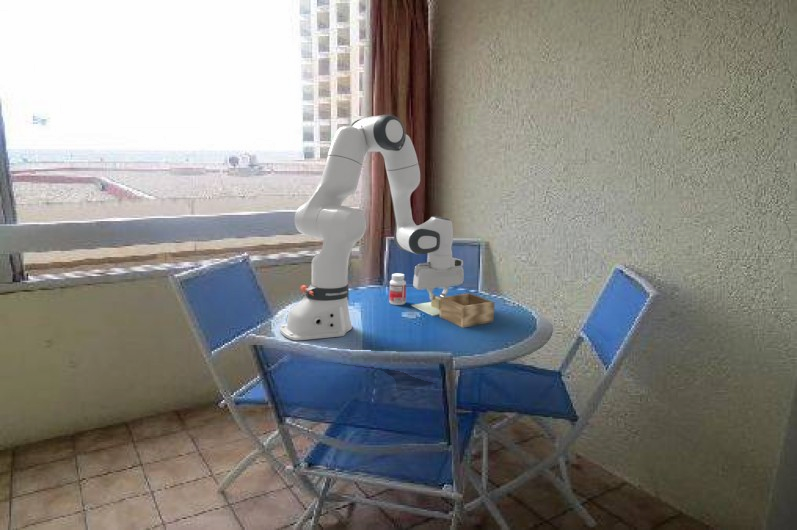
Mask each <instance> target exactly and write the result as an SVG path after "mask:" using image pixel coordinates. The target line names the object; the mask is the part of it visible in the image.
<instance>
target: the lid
mask: <svg viewBox="0 0 797 530" xmlns="http://www.w3.org/2000/svg"><path fill="white" fill-rule="evenodd" d="M410 306H411V307H412V308H415V309H416V310H419V311H421V312H423V313H424V314H426V315H427V314H428V315H429V316H432V317H434V316H440V296H437V295H436V297H435V300H430V301H429V302H421V303H415V304H411V305H410Z"/></svg>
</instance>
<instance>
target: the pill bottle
mask: <svg viewBox="0 0 797 530" xmlns="http://www.w3.org/2000/svg"><path fill="white" fill-rule="evenodd" d="M406 294H407V281H406V280H405V274H404V273H400V272H399V273H398V272H396V273H392V274H391V279H390V281H389V295H388V296H389V297H388V299H389V300H388V301H389V303H390V305H393V306H402V305H405V304H406V303H407V302H406V300H407V295H406Z"/></svg>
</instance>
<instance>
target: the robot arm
mask: <svg viewBox="0 0 797 530" xmlns="http://www.w3.org/2000/svg"><path fill="white" fill-rule="evenodd" d="M333 136H334V137H333V139H332V141H331V144H330V146H329V150H328V152H327V157H326V160H325V165H324V167H323V170H322V171H323V172H322V175H321V177H320V181H319V183H318V185H317V187H316V188H315V190H314V192H313V194H312V195H311V197H310V198H308V200H307V201H306V202H305V203H304V204H301V206H299V208H298V209H297V210H296V211H295V214H294V219H293V220H294V221H293V222H294V226H295V228H296V230H297V231H298V233H300V234H302V235H303V236H307V237H308V238H311V239H315V240H316V239H317V240H322V247H321V250H320V252H319V253H318V254H316V255H315V256H314V257H313V258H312V260H311V284H309V286H307V285H305V284H303V285H301V286H300V287H299V288H300V291H301V292H303V293H305V297H304V298H303V299H301V300H300V301H299V302H298V303H296V304H295V305H294V306H293V307H291V309H290V310H289V311H288V313H287V319H286V323H283V324H280V326H279V332H280V333H281V334H282V336H283V337H285V338H287V339H289V340H292V341H305V340H317V339H325V338H326V339H327V338H335V337H337V338H338V337H344V336H345V335H346V334H347V332H349V331H351V330H352V329H353V325H352V320H351V317H350V312H349V302H348V301H349V298H350V297H349V296H350V288H349V287H350V286H349V283H348V273H349V272H348V271H349V270H348V269H349V259H350V255H351V252H352V250H353V249H354V246H355V245H356V244H357V242H359V241H360V240H361V239H362V238H363V237H364V235H365V234H366V231H367V221H366V218H365V215H364V214H363V213H362V212H361V211H360V210H359V209H355V208H352V207H350V206H346V205H345V206H344V205H343V202H344V201H345V200H347V198H348V197H350V196H352V195H353V194H354V193H355V192H356V190H357V188H358V185H359V181H360V177H361V176H360V175H361V172H362V170H363V169H362V168H363V164H364V159H365V156H366V154H367V153H368V152H369V153H378V152H379V153H380V154H381V155H382V157H383V160H384V166H385V171H386V175H387V180H388V184H389V190H390V195H391V203H392V208H393V209H392V210H393V216H394V222H395V223H394V225H395V226H394V231H393V241H394V243H395V245H396V246H397V247H398V248H399V249H400V250H404V251H407V252H410V253H413V254H415V255H424V254H427V258H426V262H423V263H422V262H421V263H418V264H417V265H416V266H415V267H414V275H413V281H412V283H413V284H412V287H414V288H415V289H416V290H426V291H427V293H428V294H429V300H430V301H431V300H435V297H436V296H437V295H436V294H434V293H433V291H434V289H437V288H443V289H442V292H440V295H439V298H440V297H446V296H447V294H448V292H449V291H450V287H454V286H460V285H462V284H463V282H464V280H465V279H464V277H465V275H464V272H465V271H464V267H463V266H464V261H463V259H460V258H456V257H455V256H453V251H452V250H453V249H452V246H453V242H454V226H453V223H452V220H450V219H449V218H446V217H442V216H438V215H432V216H431V217H430V218H429V219H428V220H426V221H425V222H423V223H421V224H419V225H417V224H416V223H415V221H414V220H413V215H412V212H413V211H412V207H411V196H412V193H413V192H414V191H415V190H417V188H418V187H419V186H420V182H421V171H420V165H419V162H418V156H417V153H416V150H415V149H416V148H415V147H414V144H413V141H412V139H411V137H410V136H409V134H406V131H405V127H404V124H403V122H402V121H401V120H400V118H398V117H397V115H396V116H395V115H393V114H382V115H371V116H367V117H363V118H362V119H361V118H360V119H357V120H355V121H354V122H352V123H351V124H349V125H344V126H341V127H339V128H338V129H337V130H336V133H335V135H333Z"/></svg>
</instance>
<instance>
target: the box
mask: <svg viewBox="0 0 797 530" xmlns="http://www.w3.org/2000/svg"><path fill="white" fill-rule="evenodd" d="M439 298H440V315H439V317H440V318H441V319H443V320H446V321H448V322H449V323H452V324H454V325H456V326H459V327H460V328H463V329H464V328H468V327H474V326H480V325H484V324H491V323H494V315H495V301H493V300H489V299H487V298H484V297H481V296H479V295H478V294H477V295H476V294H473V293H471V292H469V293H462V294H454V295H446V297H440V296H439Z"/></svg>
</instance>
